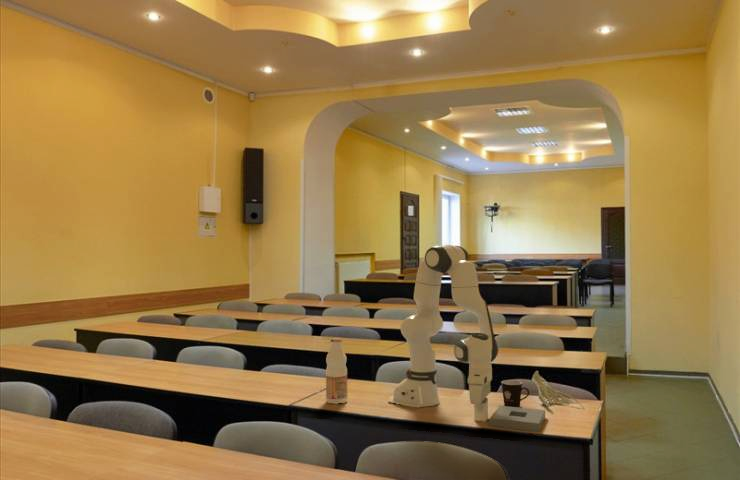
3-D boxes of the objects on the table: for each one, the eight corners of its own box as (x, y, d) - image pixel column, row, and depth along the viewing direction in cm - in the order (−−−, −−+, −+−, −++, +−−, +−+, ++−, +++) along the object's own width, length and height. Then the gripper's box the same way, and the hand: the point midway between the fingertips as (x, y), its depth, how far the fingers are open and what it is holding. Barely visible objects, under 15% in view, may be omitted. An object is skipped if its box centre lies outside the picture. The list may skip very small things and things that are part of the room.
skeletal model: (553, 414, 232) (525, 363, 249) (544, 426, 238) (517, 376, 255) (585, 409, 237) (555, 359, 254) (576, 421, 243) (547, 372, 260)
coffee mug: (497, 404, 247) (497, 381, 247) (514, 402, 250) (514, 379, 250) (513, 411, 236) (513, 387, 236) (531, 409, 239) (530, 385, 239)
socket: (490, 426, 218) (490, 418, 218) (499, 412, 234) (499, 405, 234) (539, 431, 211) (538, 423, 211) (545, 417, 227) (545, 410, 227)
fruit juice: (322, 403, 252) (321, 339, 252) (332, 398, 261) (331, 336, 261) (341, 405, 248) (340, 341, 248) (351, 400, 257) (350, 337, 257)
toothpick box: (474, 420, 225) (474, 399, 225) (477, 417, 229) (476, 397, 229) (485, 421, 223) (485, 401, 223) (488, 418, 227) (487, 398, 227)
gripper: (478, 369, 237) (479, 402, 237) (466, 380, 218) (466, 416, 218) (494, 370, 235) (494, 404, 235) (482, 381, 216) (483, 418, 216)
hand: (481, 410), depth 226 cm, fingers closed on toothpick box, 4 cm apart
